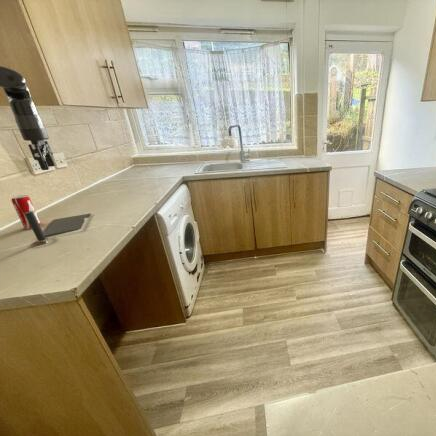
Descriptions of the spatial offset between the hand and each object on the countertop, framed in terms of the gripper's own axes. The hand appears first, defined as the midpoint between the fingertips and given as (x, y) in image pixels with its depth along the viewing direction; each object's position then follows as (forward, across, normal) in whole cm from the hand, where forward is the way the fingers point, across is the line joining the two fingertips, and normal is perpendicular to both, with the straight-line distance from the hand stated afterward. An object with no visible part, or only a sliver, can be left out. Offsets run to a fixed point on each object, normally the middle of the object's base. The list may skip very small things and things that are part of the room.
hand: (48, 168), depth 103 cm
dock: (+27, +14, -7) cm, 32 cm away
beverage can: (+28, -10, -16) cm, 34 cm away
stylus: (+27, +14, -7) cm, 31 cm away
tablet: (+27, -2, -2) cm, 28 cm away
